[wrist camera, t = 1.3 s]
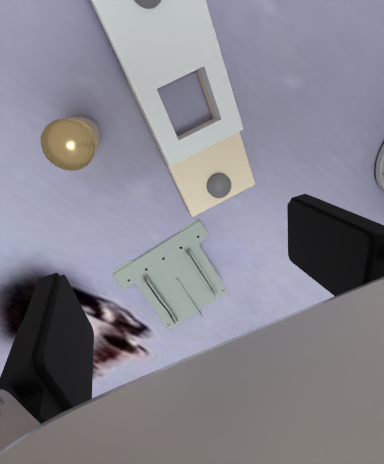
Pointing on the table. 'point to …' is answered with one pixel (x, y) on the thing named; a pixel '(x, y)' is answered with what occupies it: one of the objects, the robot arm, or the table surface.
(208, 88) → the white peg board
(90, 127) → the brass pin
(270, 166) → the table surface
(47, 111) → the table surface
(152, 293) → the metal bracket
